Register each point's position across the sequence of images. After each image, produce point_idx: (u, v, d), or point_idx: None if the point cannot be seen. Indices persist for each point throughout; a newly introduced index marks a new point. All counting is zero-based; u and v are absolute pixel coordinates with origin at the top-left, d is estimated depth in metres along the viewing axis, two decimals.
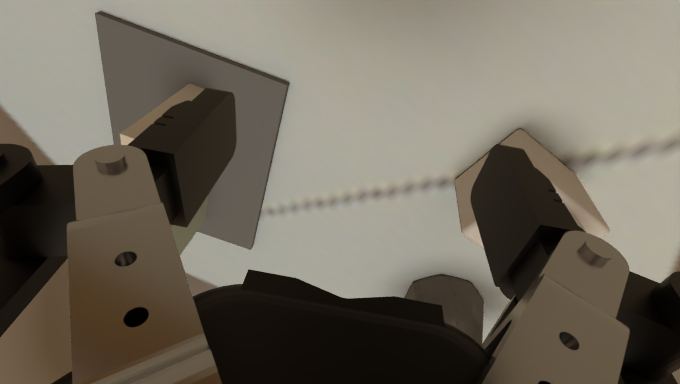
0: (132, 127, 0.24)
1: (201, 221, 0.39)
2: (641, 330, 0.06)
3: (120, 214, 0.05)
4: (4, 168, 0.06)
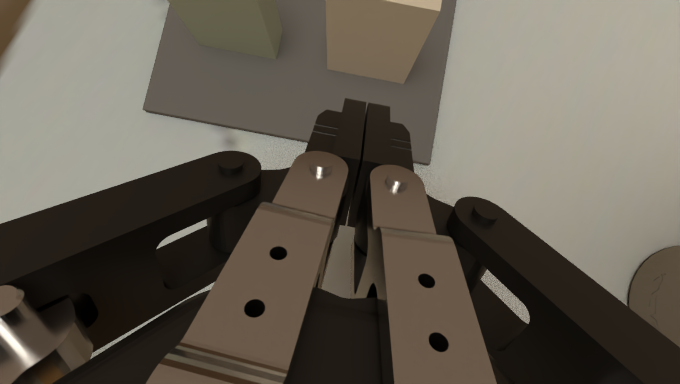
0: None
1: (201, 37, 0.25)
2: None
3: (297, 213, 0.06)
4: (246, 173, 0.07)
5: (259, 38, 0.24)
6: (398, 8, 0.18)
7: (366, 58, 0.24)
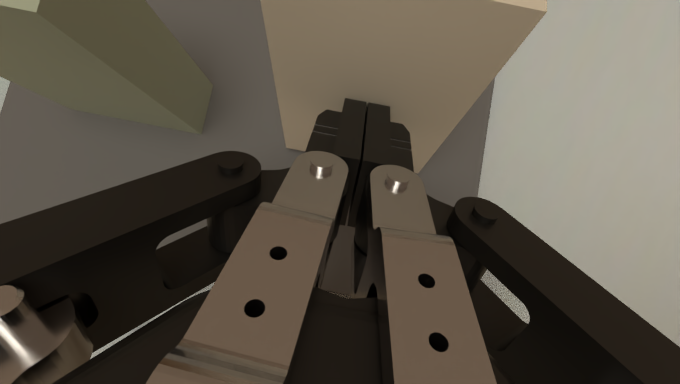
0: None
1: (63, 101, 0.14)
2: None
3: (297, 213, 0.06)
4: (246, 173, 0.07)
5: (155, 111, 0.13)
6: (437, 7, 0.07)
7: None
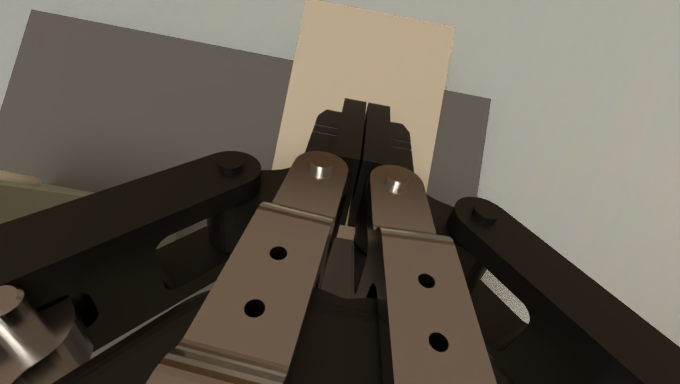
0: None
1: None
2: None
3: (297, 213, 0.06)
4: (246, 173, 0.07)
5: None
6: (401, 26, 0.14)
7: None
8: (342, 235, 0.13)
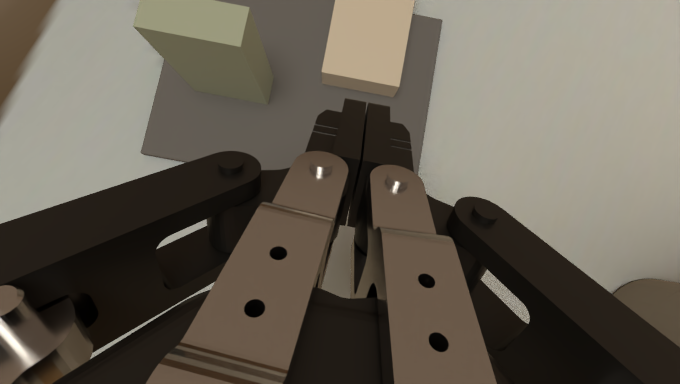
0: None
1: (196, 85, 0.27)
2: None
3: (297, 213, 0.06)
4: (246, 173, 0.07)
5: (251, 89, 0.25)
6: None
7: (363, 44, 0.26)
8: (362, 78, 0.26)
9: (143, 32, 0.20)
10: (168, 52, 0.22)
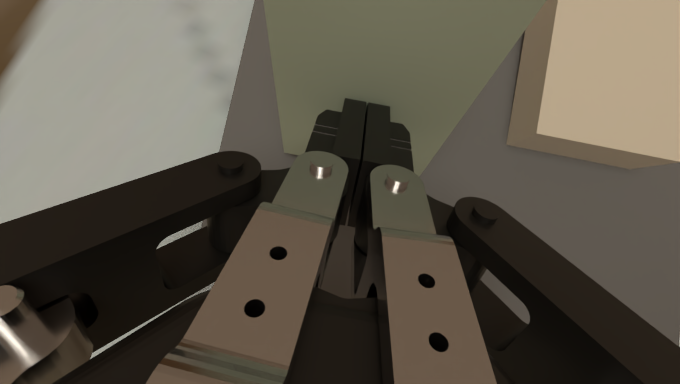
0: None
1: (296, 140, 0.14)
2: None
3: (298, 213, 0.06)
4: (246, 173, 0.07)
5: (419, 144, 0.13)
6: None
7: (613, 80, 0.14)
8: (611, 146, 0.14)
9: None
10: (296, 44, 0.09)
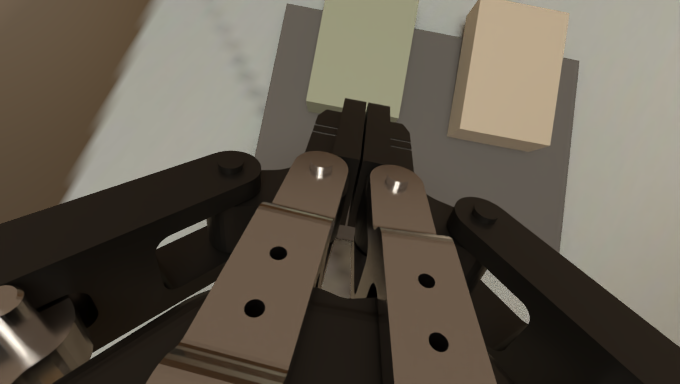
0: None
1: (319, 83, 0.22)
2: None
3: (297, 213, 0.06)
4: (246, 173, 0.07)
5: (394, 75, 0.22)
6: (538, 13, 0.23)
7: (507, 95, 0.22)
8: (506, 136, 0.22)
9: None
10: (335, 7, 0.22)
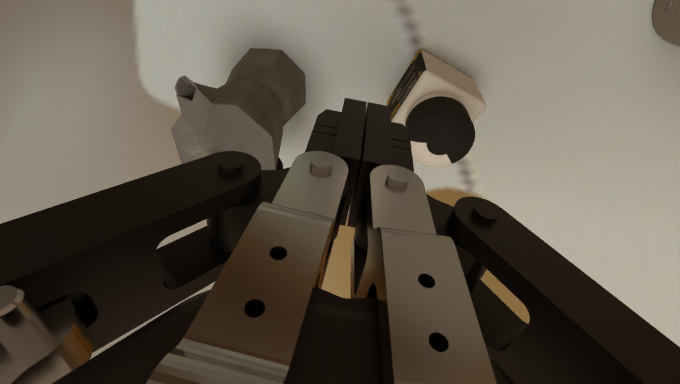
0: None
1: None
2: None
3: (298, 213, 0.06)
4: (246, 173, 0.07)
5: None
6: None
7: None
8: None
9: None
10: None
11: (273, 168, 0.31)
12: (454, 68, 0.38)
